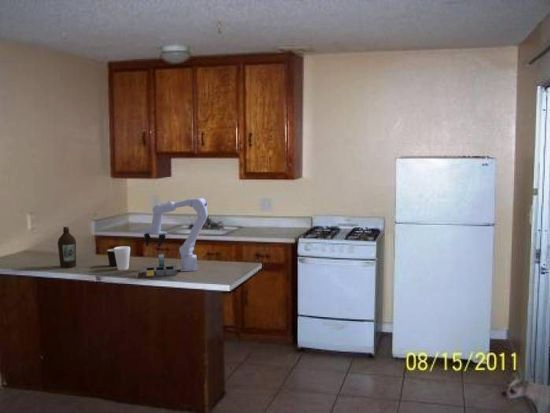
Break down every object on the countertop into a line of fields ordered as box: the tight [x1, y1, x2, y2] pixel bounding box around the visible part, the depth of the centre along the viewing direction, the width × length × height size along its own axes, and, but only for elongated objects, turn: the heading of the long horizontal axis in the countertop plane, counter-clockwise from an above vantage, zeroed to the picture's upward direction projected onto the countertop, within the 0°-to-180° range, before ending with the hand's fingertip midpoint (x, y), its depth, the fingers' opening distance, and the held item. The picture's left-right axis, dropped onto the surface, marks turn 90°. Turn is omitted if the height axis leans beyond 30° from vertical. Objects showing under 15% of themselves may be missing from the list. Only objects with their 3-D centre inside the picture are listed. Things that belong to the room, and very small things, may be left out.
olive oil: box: [57, 226, 77, 269], centre depth 356 cm, size 11×11×25 cm
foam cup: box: [113, 245, 131, 271], centre depth 348 cm, size 10×9×13 cm
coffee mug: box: [106, 248, 117, 268], centre depth 358 cm, size 12×9×10 cm
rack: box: [142, 264, 178, 278], centre depth 333 cm, size 19×13×3 cm
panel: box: [158, 254, 165, 266], centre depth 347 cm, size 3×8×8 cm, turn 11°
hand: (153, 246), depth 344 cm, fingers open, 7 cm apart
